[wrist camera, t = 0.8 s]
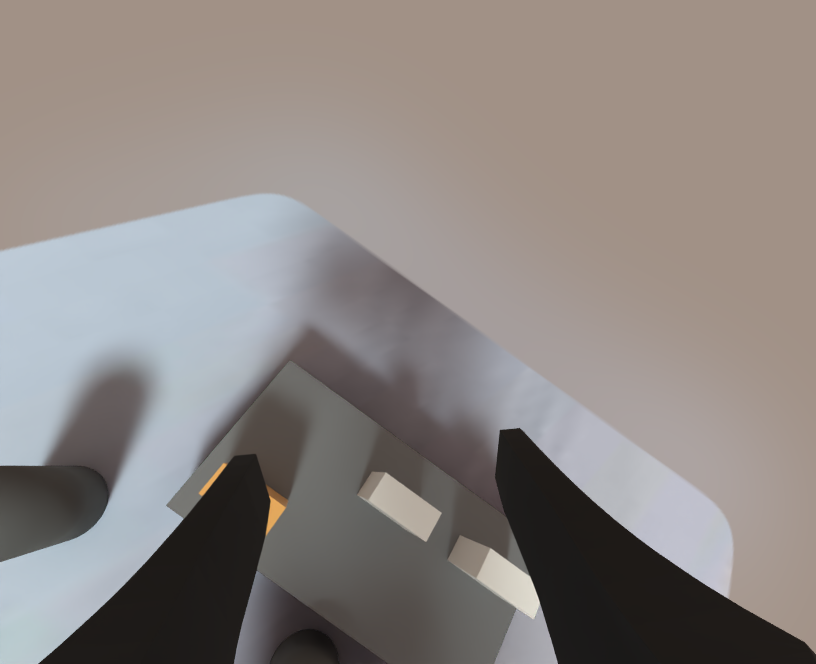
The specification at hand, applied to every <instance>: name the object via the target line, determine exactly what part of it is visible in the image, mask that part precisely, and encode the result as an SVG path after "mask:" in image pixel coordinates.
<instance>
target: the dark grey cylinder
mask: <svg viewBox="0 0 816 664" xmlns="http://www.w3.org/2000/svg"><path fill="white" fill-rule="evenodd" d="M107 502H108V488H107V484H106V482H105V480H104V479H103V477H102V476H101V475H100V474H99V473H98V472H96V471H94V470H93V469H90V468H87V467H82V466H0V562H2V561H5V560H8V559H11V558H15V557H18V556H21V555H24V554H27V553H30V552H34V551H37V550H40V549H43V548H46V547H49V546H53V545H56V544H59V543H62V542H65V541H68V540H71V539H74V538H77V537H78V536H80V535H82V534H84V533H85V532H87V531H88V530H89V529H91V528H92V527H93V526H94V525H95V524H96V523H97V521H98V520H99V519H100V518H101V516H102V515H103V513H104V511H105V508H106V506H107Z"/></svg>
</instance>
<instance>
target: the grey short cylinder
mask: <svg viewBox="0 0 816 664" xmlns="http://www.w3.org/2000/svg"><path fill="white" fill-rule="evenodd" d="M270 664H340V663H339V658H338V653H337V650H336V648H335V645H334V644H333V642H332V640H331V639H330V638H329V637H328V636H327V635H325V634H324V633H322V632H320V631H317V630H310V629H308V630H302V631H299V632H296V633H294V634H292V635H291V636H289V637H288V638H287V639H285V640H284V641H283V642H282V643H281V645H280V646H279V647H278V648H277V650H276V651H275V653H274V655H273V657H272V659H271V662H270Z"/></svg>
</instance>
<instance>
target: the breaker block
mask: <svg viewBox="0 0 816 664" xmlns="http://www.w3.org/2000/svg"><path fill="white" fill-rule="evenodd" d="M247 454H256V455H257V458H258V462H259V465H260V468H261V471H262V474H263V478H264V481H265V484H266V485H267V486H269V487H270V488H272V489H273V490H274V491H276V492H277V493H279V494H280V495H281V496H283V497H284V498H286V499H287V500H288V504H287V506H286V509H285V510H284V511H283V513H282V514H281V515H280V517H279V518H278V520H277V521H276V522H275V524H274V525H273V527H272V528H271V529H270V531H269V532H268V534H267V535H266V536H265V540H264V544H263V548H262V552H261V556H260V559H259V563H258V567H257V571H259V572H260V573H261V574H263V575H264V576H266V577H267V578H268V579H270V580H271V581H273V582H274V583H275V584H277V585H278V586H280V587H281V588H282V589H284V590H285V591H287V592H288V593H289V594H291V595H292V596H294V597H295V598H296V599H298V600H299V601H301V602H302V603H303V604H305V605H306V606H308V607H309V608H310V609H312V610H313V611H315V612H316V613H317V614H319V615H320V616H322V617H323V618H325V619H326V620H327V621H329V622H330V623H332V624H333V625H334V626H336V627H337V628H339V629H340V630H341V631H343V632H344V633H346V634H347V635H348V636H350V637H351V638H353V639H354V640H355V641H357V642H358V643H360V644H361V645H362V646H364V647H365V648H367V649H368V650H369V651H371V652H372V653H374V654H375V655H376V656H378V657H379V658H381V659H382V660H383V661H385V662H386V663H388V664H494V662H495V659H496V657H497V654H498V652H499V650H500V647H501V645H502V642H503V640H504V637H505V635H506V633H507V630H508V628H509V625H510V623H511V620H512V618H513V615H514V613H515V611H516V608H517V609H518V610H520V611H521V612H523V613H524V614H526V615H528V616H529V617H531V618H532V619H534V617H535V615H536V612H537V610H538V607H539V604H540V601H539V599H538V596H537V593H536V590H535V587H534V585H533V582H532V580H531V577H530V575H529V572H528V570H527V567H526V565H525V562H524V560H523V557H522V555H521V552H520V550H519V547H518V545H517V542H516V540H515V537H514V535H513V532H512V530H511V527H510V525H509V522H508V519H507V517H506V516H504V515H503V514H502V513H500V512H499V511H498V510H496V509H495V508H493V507H492V506H491V505H489V504H488V503H486V502H485V501H484V500H482V499H481V498H480V497H478V496H477V495H475V494H474V493H473V492H471V491H470V490H469V489H467V488H466V487H464V486H463V485H462V484H460V483H459V482H458V481H456V480H455V479H453V478H452V477H451V476H449V475H448V474H447V473H445V472H444V471H442V470H441V469H440V468H438V467H437V466H436V465H434V464H433V463H431V462H430V461H429V460H427V459H426V458H424V457H423V456H422V455H420V454H419V453H418V452H416V451H415V450H413V449H412V448H411V447H409V446H408V445H407V444H405V443H404V442H402V441H401V440H400V439H398V438H397V437H396V436H394V435H393V434H391V433H390V432H389V431H387V430H386V429H385V428H383V427H382V426H380V425H379V424H378V423H376V422H375V421H374V420H372V419H371V418H369V417H368V416H367V415H365V414H364V413H362V412H361V411H360V410H358V409H357V408H356V407H354V406H353V405H351V404H350V403H349V402H347V401H346V400H345V399H343V398H342V397H340V396H339V395H338V394H336V393H335V392H334V391H332V390H331V389H329V388H328V387H327V386H325V385H324V384H323V383H321V382H320V381H318V380H317V379H316V378H314V377H313V376H312V375H310V374H309V373H307V372H306V371H305V370H303V369H302V368H300V367H299V366H298V365H296V364H295V363H294V362H292V361H291V360H289V362H288V363H287V364H286V365H285V366H284V368H283V369H282V370H281V371H280V372H279V373H278V375H277V376H276V377H275V378H274V379H273V380H272V382H271V383H270V384H269V385H268V386H267V387H266V389H265V390H264V391H263V392H262V393H261V395H260V396H259V397H258V398H257V399H256V400H255V402H254V403H253V404H252V405H251V406H250V407H249V409H248V410H247V411H246V412H245V413H244V415H243V416H242V417H241V418H240V419H239V420H238V422H237V423H236V424H235V425H234V426H233V427H232V429H231V430H230V431H229V432H228V433H227V434H226V436H225V437H224V438H223V439H222V440H221V442H220V443H219V444H218V445H217V446H216V447H215V449H214V450H213V451H212V452H211V453H210V454H209V456H208V457H207V458H206V459H205V460H204V462H203V463H202V464H201V465H200V466H199V467H198V469H197V470H196V471H195V472H194V473H193V474H192V476H191V477H190V478H189V479H188V480H187V481H186V483H185V484H184V485H183V486H182V487H181V489H180V490H179V491H178V492H177V493H176V494H175V496H174V497H173V498H172V499H171V500H170V501H169V503H168V504H167V505H166V506H167V507H169V508H170V509H171V510H173V511H174V512H176V513H177V514H179V515H180V516H181V517H183V518H185V517H186V516H187V515H188V513H189V512H190V511H191V510H192V508H193V507H194V506H195V505H196V504H197V502H198V501H199V500H200V499H201V497H202V496H201V495H200V494H199V492H200V491H201V490H202V489H203V487H204V486H205V485H206V484H207V483H208V481H209V480H210V479H211V478H212V476H213V475H214V474H215V473H216V472H217V470H218V469H219V468H220V467H221V466H222V464H223V463H229V462H230V460H231V459H232V458H233V457H234V456H237V455H247Z"/></svg>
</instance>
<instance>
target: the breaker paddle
mask: <svg viewBox="0 0 816 664" xmlns="http://www.w3.org/2000/svg"><path fill="white" fill-rule="evenodd" d="M227 464H228V463H223V464H222V466H221V467H220V468H219V469H218V470H217V472H216V473H215V474H214V475H213V476H212V478H211V479H210V480H209V481H208V483H207V484H206V485H205V486H204V487H203V489H202V490H201V491H200V492H199V494H200V495H201V496H203V495H204V494H205V492H206V491H207V490H208V489H209V487H210V486H211V485H212V483H213V482H214V481H215V480H216V478H217V477H218V476H219V474H220V473H221V472H222V471H223V469H224V468H225V467H226V465H227ZM266 487H267V490H268V494H269V497H270V500H271V503H270V510H269V517H268V524H267V530H266V535H267V534H268V532H269V531H270V529H271V528H272V527H273V525H274V524H275V522H276V521H277V520H278V518H279V517H280V515H281V514H282V513H283V511H284V510H285V509H286V506H287V504H288V500H287V499H286V498H284V497H283V496H281V495H280V494H279V493H277V492H276V491H274V490H273V489H272V488H270V487H269V486H267V485H266Z"/></svg>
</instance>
